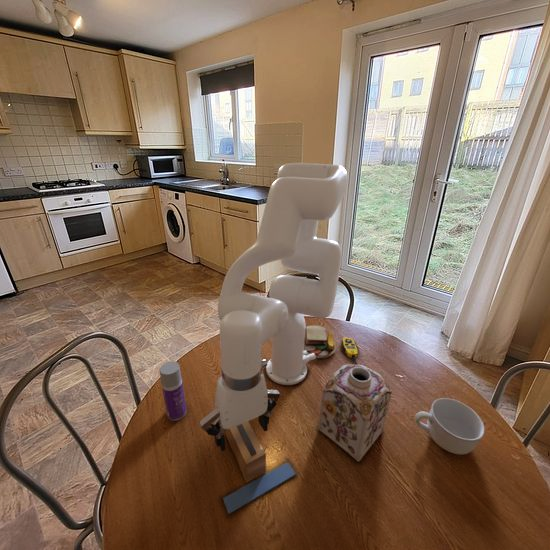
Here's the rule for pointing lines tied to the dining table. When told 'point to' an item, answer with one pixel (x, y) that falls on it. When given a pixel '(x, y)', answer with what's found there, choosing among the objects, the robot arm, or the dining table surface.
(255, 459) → the token holder
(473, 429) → the teacup
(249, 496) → the strip
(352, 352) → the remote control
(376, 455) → the dining table surface
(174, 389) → the container
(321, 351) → the toy sandwich meal
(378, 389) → the decorative jar
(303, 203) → the robot arm
